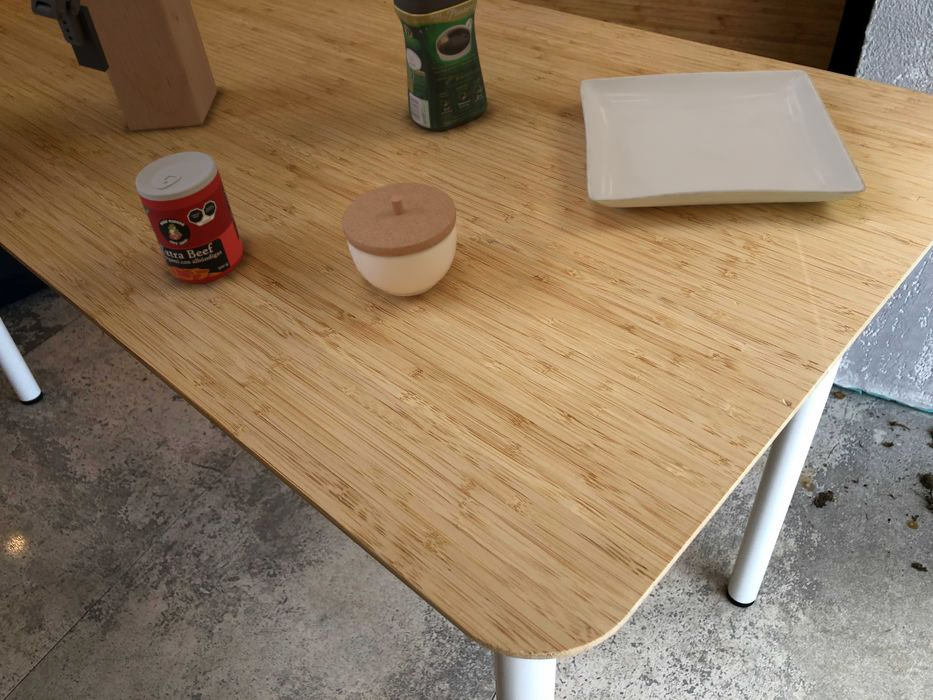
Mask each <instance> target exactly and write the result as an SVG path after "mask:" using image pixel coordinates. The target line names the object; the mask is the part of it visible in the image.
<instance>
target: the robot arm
mask: <svg viewBox="0 0 933 700" xmlns="http://www.w3.org/2000/svg"><path fill="white" fill-rule="evenodd" d="M80 2H81V0H30V7H31V12H32V13H33V15H35V16H40V17H44V18H47V19H51V20H55V21H56V22H57V23H58V26H59V28H60V30H61V33H62V35H63V39H64V41H66V42H67V43H68V44H70V46H71V49H72V50H73V53H74V56H75V58H76V60H77V63H78V65H79V66H81V67H85V68H88V69H91V70H95V71H98V72H103V73H107V72H106V71H107V70H108V68H109V65H108V62H107V59H106V57H105V54H104V51H103V48H102V45H101V43H100V40H99V37H98V34H97V32H96V29H95V26H94V23H93V20H92V18H91V15H90V12H89V9H88V7H87V6H83V5H80Z"/></svg>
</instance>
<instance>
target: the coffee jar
mask: <svg viewBox="0 0 933 700" xmlns="http://www.w3.org/2000/svg"><path fill="white" fill-rule="evenodd" d="M392 2H393V3H392V4H393V9H394V13H395V14H396V16H397V19H398V20H399V21H400V23H401V26H402V32H403V38H404V39H403V40H404V48H405V61H406V62H405V63H406V82H407V83H406V85H407V87H406V88H407V102H408V111H409V116H410V118H411V119H412V120H413V122H414V123H415V124H416V125H418V126H419V127H421V128H422V129H426V130H429V131H434V132H442V131H447V130H450V129H452V128H456V127H458V126H462V125H464V124H466V123H469V122H471V121H474V120H476V119H478V118H479V117H481V116H483V114H485V113H486V110H487V108H488V100H487V92H486V86H485V81H484V77H483V71H482V67H481V61H480V54H479V48H478V43H477V38H476V25H475V15H476V9H477V4H478V0H392Z"/></svg>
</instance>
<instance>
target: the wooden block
mask: <svg viewBox="0 0 933 700" xmlns="http://www.w3.org/2000/svg"><path fill="white" fill-rule="evenodd" d="M80 5H83V6H87V7H88V9H89V12H90V15H91V18H92V20H93V23H94V26H95V29H96V32H97V34H98V37H99V40H100V43H101V45H102V48H103V51H104V54H105V57H106V59H107V62H108V65H109V68H108V70H107V71H106V72H105V73H106V74H107V77H108V80H109V82H110V84H111V87H112V89H113V92H114V95H115V97H116V100H117V102H118V104H119V107H120V109H121V113H122V115H123V118H124V119H125V123H126V125H127V127H128V130H129V131H130V132H137V131H149V130H161V129H173V128H185V127H198V126H202V125H204V123H205V120H206V118H207V116H208V114H209V111H210V108H211V107H212V104H213V102H214V99H215V97H216V95H217V93H218V89H217V85H216V81H215V78H214V75H213V71H212V68H211V66H210V62H209V59H208V55H207V52H206V49H205V45H204V42H203V39H202V36H201V32H200V30H199V26H198V22H197V19H196V15H195V13H194V10H193V6H192V3H191V0H81V2H80Z"/></svg>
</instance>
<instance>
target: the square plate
mask: <svg viewBox="0 0 933 700" xmlns="http://www.w3.org/2000/svg"><path fill="white" fill-rule="evenodd" d="M579 96H580V97H579V98H580V101H581V107H582V115H583V120H584V131H585V133H584V135H585V156H586V157H585V160H586V161H585V162H586V163H585V165H586V166H585V168H586V189H587V191H586V192H587V197H588V198H589V200H591V201H593V202H596V203H597V204H599V205H601V206H604V207H608V208H648V207H658V208H659V207H685V206H713V205H714V206H715V205H742V204H743V205H744V204H746V205H747V204H776V203H819V202H832V201H833V202H835V201H841V200H845V199H849V198H852V197H854V196H857V195H858V194H860V193H864V192H866V189H867V185H866V183H865V180H864V178H863V177H862V174H861V172H860V170H859V169H858V166H857V164H856V162H855V161H854V159H853V157H852V155H851V153H850V151H849V149H848V147H847V146H846V144H845V142H844V139H843V138H842V136H841V134H840V133H839V130H838V129H837V127H836V124H835V122H834V121H833V119H832V117H831V115H830V113H829V111H828V109H827V107H826V105H825V103H824V101H823V99H822V97H821V94H820V92H819V91H818V88H817V86H816V84H815V82H814V81H813V79H812V77H811V76H810V74H809V73H808V71H805V70H803V69H788V70H787V69H785V70H745V71H744V70H743V71H742V70H741V71H738V70H737V71H704V72H701V71H700V72H679V73H678V72H677V73H661V74H658V73H657V74H644V75H629V76H616V77H614V76H613V77H604V78H600V77H599V78H587V79H583V80H581V81H580V82H579Z"/></svg>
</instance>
